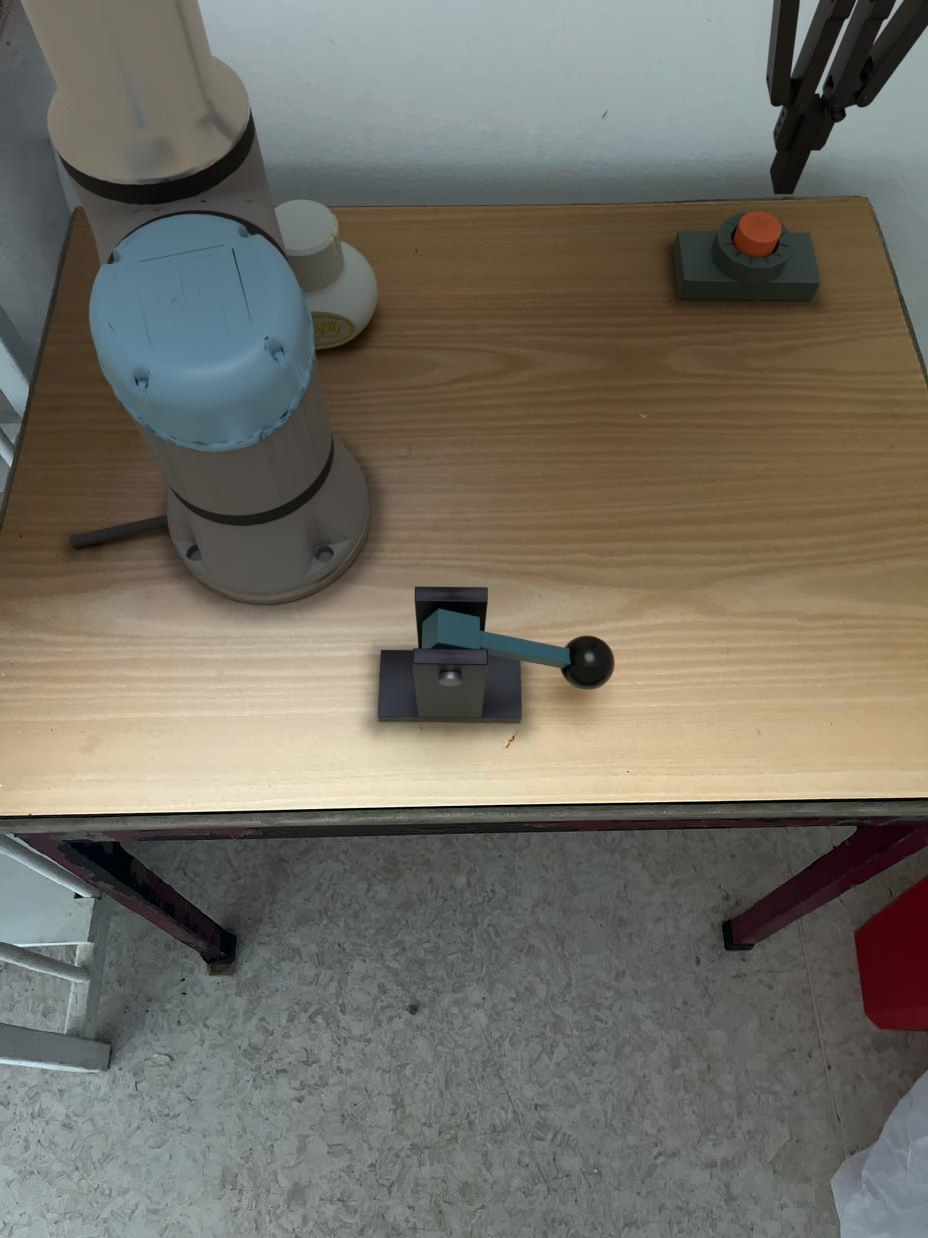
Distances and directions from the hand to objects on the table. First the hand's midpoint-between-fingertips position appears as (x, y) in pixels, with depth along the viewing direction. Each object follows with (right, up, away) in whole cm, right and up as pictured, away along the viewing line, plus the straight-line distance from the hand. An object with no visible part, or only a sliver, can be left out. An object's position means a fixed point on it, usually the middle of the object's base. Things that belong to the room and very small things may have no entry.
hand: (781, 181), depth 68 cm
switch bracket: (-27, -40, -7) cm, 49 cm away
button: (0, -2, +6) cm, 6 cm away
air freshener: (-38, -9, +6) cm, 40 cm away
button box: (0, -4, +9) cm, 10 cm away
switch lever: (-23, -38, -13) cm, 46 cm away
